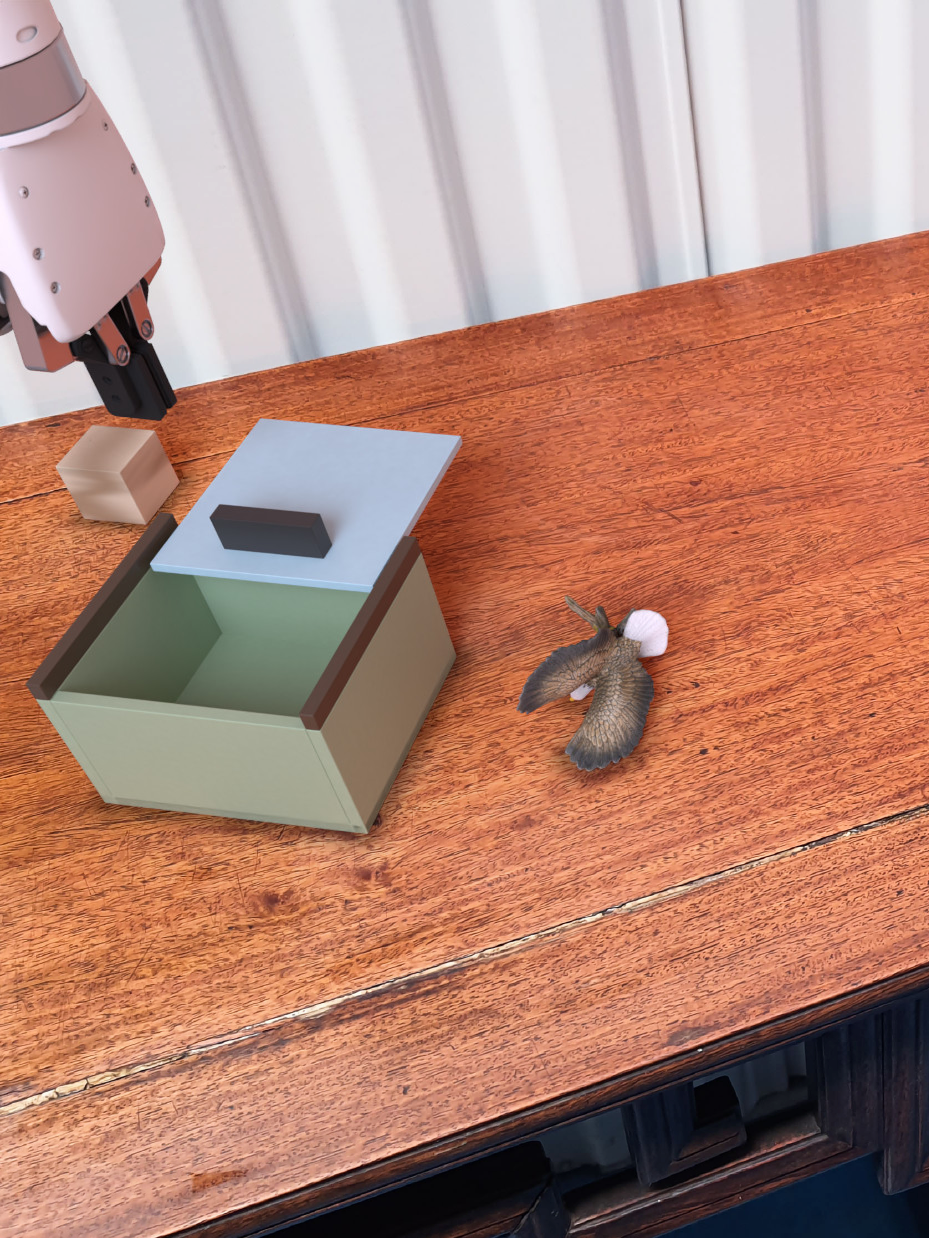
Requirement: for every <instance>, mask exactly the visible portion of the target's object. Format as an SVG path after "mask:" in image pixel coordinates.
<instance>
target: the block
mask: <svg viewBox="0 0 929 1238" xmlns="http://www.w3.org/2000/svg"><path fill="white" fill-rule="evenodd" d="M54 468H55V469H56V471H57V473H58V475H59V476H60V478H61V480H62V482H63V484H64V486H65V487H66V489H67V491H68V492H69V494H70V496H71V498H72V500H73V501H74V503H75V505H76V507H77V509H78V511H79V513H80V515H81V516H82V517H83V519H84V520H92V521H104V522H113V523H124V524H132V525H133V524H134V525H144V526H146V525H148V524H149V522H150V521H151V520H152V518H153V517H154V516H155V515H156V514H157V512H158V511H159V510H160V508H161V507H162V506H163V505H164V503H165V502H166V501H167V500H168V498H169V497H170V495H171V494H172V493H173V492H174V491H175V489H176V488H177V487H178V485H179V484H180V482H181V481H180V480H179V478H178V475H177V473H176V472H175V469H174V467H173V465H172V463H171V462H170V459H169V457H168V455H167V452H166V450H165V448H164V447H163V444H162V442H161V440H160V438H159V436H158V434H157V432H156V431H155V430H153V429H141V428H132V427H131V428H129V427H120V426H110V425H109V426H108V425H97V424H92V425H90V427H89V428H88V429H87V431H85V433H83V435H82V436H81V437H80V438H79V439H78V440H77V442H76V443H75V444H74V445H73V446H72V447H71V448H70V449H69V450H68V452H67V453H66V454H65V455H64V456H63V457H62V459H60V460H59V462H58V463H57V464H56V465H55V467H54Z"/></svg>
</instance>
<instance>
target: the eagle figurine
mask: <svg viewBox="0 0 929 1238" xmlns="http://www.w3.org/2000/svg"><path fill="white" fill-rule="evenodd" d="M564 600H565V603H566V605H567V606H568V608H569V609H570V610H571V611H572V612H574V613H576V615H577V616H579V618H581V619H582V620H583V621H585V622H587V623H588V624H590V627H591V629H592V630H593V631H595V634H594V636H592V637H589V638H588V639H581V640H580V641H578V642H576V643H575V644H573V643H571V644H568V646H559V647H557V648H556V649H555V650H552V651H551V652H550V655H549V656H546V657H545V660H543V661H541V662H540V663H539V665H538V667H536V668H535V669H534V670H533V672H532V673H531V674H530V675H529V676H528V677H527V678H526V682H525V683H524V685H523V686H522V691H521V693H520V694H519V696H518V703H517V706H516V709H515V710H516V711H517V712H519V713H520V714H524V713H525V714H526V715H529V714H531V713H533V712H535V711H536V710H538V709H539V708H542V707H543V706H546V705H548V704H550V703H552V702H556V701H558V700H560V699H563V698H566V697H567V696H569V695H570V697H569V702H574V701H582V700H583V699H585V698H586V696H588V695H589V694H590V693H591V692H592V691H593V690H594V693H593V695H592V701H591V703H590V705H589V707H588V710H587V712H586V714H585V715H584V718H583V721H582V722H581V724H580V726H579V727H578V729H577V731H575V733H574V734H573V737H572V738H571V739H570V740H569V742H568V743H567V746H566V747H565V749H564V753H565V754H566V755H568V756H569V762H571V763H575V764H576V768H577V769H578V770H580V771H582V770H585V771H586V772H589V773H590V772H593V771H594V770H595V769H597V768H598V769H599V770H603V769H605V768H606V767H609V765H610V764H611V762H612V763H613V764H617V763H620V760H621V759H622V758H623V759H625V758H627V757H629V756H630V755H631V753H632V752H633V751H634V750H635V748H636V747H637V746H639V744H640V739H641V738H642V737H644V731H643V729H644V728H645V725H646V723H647V717H646V716H648V715H649V710H650V708H651V703H653V702H654V698H655V693H656V689H655V681H654V680H653V677H652V675H651V674H649V673H648V671H647V669H646V667H643V662H642V661H640V660H639V659H641V658H649V657H658V656H661V655H664V653H665V652H666V650H667V647H668V642H669V634H670V629H669V626H668V625H667V624H668V623H667V620H666V618H665V617H664V616H662V615H661V613H659V612H657V611H653V610H651V609H637V610H636V608H635V607H632V608H630V610H629V611H628V613H627V614H626V615H625V616H624V617H623V618H622V620H620V622H619V623H617V624H616V626H613V625H611V624H610V621H609V618H608V615H607V613H606V609H605V608H604V606H603V605H600V604H598V605H597V606H595V608H594V609H595V613H592V612H590V611H589V610H587V609H586V608H584V607H583V606H581V605H580V604H579V603H578V602H577V601H576V600H575V598H573V597H572V596H570V595H565V596H564Z"/></svg>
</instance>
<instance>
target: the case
mask: <svg viewBox="0 0 929 1238" xmlns="http://www.w3.org/2000/svg"><path fill="white" fill-rule="evenodd" d="M178 526H179V524H178V522H177V520H176V518H175V516H174V514H173V513H172V512H163V511H160V512H159V513H158V514H157V515H156V517H155V518H154V519H153V520H152V521H151V523H150V524H149V525H148V527H147V528H146V529H145V530H144V532H143V533H142V534H141V535H140V537H139V538H138V539H137V541H136V542H135V543H134V545H133V546H132V547H131V549H130V550H129V551H128V553H127V554H126V555H125V556H124V557H123V558H122V560H121V561H120V563H119V564H118V565H117V566H116V567H115V569H114V570H113V571H112V573H111V574H110V575H109V577H108V578H107V579H106V580H105V581H104V583H103V584H102V585H101V586H100V588H99V589H98V591H97V592H96V593H95V594H94V596H93V597H92V598H91V599H90V601H89V602H88V603H87V604H86V606H85V607H84V608H83V610H82V611H81V612H80V613H79V614H78V616H77V617H76V619H75V620H74V621H73V622H72V624H71V625H70V626H69V628H68V629H67V630H66V631H65V633H64V634H63V635H62V637H60V639H59V641H58V642H56V644H55V645H54V646H53V648H52V649H51V650H50V652H49V653H48V654H47V655H46V657H45V658H44V659H43V660H42V662H41V663H40V665H39V666H37V668H36V670H35V671H34V672H33V674H32V675H31V676H30V677H29V679H28V680H27V681H26V682H25V686H26V688H27V689H28V691H29V692H30V694H31V695H32V697H33V698H34V699H35V700H36V702H37V704H38V705H39V707H40V708H41V710H42V711H43V713H44V714H45V716H46V717H47V718H48V720H49V721H50V723H51V724H52V726H53V727H54V729H55V731H56V732H57V733H58V735H59V736H60V738H61V739H62V741H63V742H64V744H65V745H66V747H67V748H68V750H69V751H70V752H71V754H72V756H73V758H75V760H76V762H77V763H78V764H79V766H80V767H81V769H82V771H83V772H84V773H85V775H86V776H87V778H88V779H89V781H90V782H91V784H92V785H93V787H94V788H95V790H96V792H97V793H98V794H99V796H100V798H101V799H102V800H103V802H104V803H106V804H113V805H121V806H130V807H139V808H147V809H155V810H162V811H163V810H164V811H171V812H179V813H187V814H196V815H197V814H198V815H205V816H213V817H222V818H229V819H239V820H245V821H246V820H247V821H255V822H264V823H273V824H281V825H289V826H297V827H306V828H314V829H323V830H331V831H340V832H346V833H347V832H348V833H355V834H356V833H357V834H363V835H364V834H365V835H368V834H369V833H370V831H371V829H372V827H373V825H374V823H375V821H376V818H377V817H378V814H379V813H380V811H381V809H382V807H383V805H384V803H385V801H386V799H387V797H388V795H389V793H390V791H391V789H392V787H393V785H394V783H395V781H396V779H397V777H398V775H399V773H400V771H401V769H402V767H403V765H404V763H405V761H406V759H407V757H408V755H409V754H410V751H411V749H412V747H413V745H414V743H415V741H416V739H417V737H418V735H419V733H420V731H421V729H422V727H423V725H424V724H425V721H426V719H427V717H428V715H429V713H430V711H431V710H432V707H433V705H434V703H435V701H436V699H437V697H438V695H439V694H440V691H441V690H442V687H443V685H444V684H445V681H446V679H447V677H448V676H449V674H450V671H451V670H452V668H453V665H454V664H455V662H456V660H457V653H456V650H455V647H454V645H453V644H454V643H453V642H452V639H451V636H450V635H451V634H450V633H449V630H448V627H447V624H446V621H445V618H444V615H443V612H442V609H441V606H440V603H439V599H438V597H437V594H436V591H435V589H434V585H433V582H432V579H431V577H430V573H429V570H428V568H427V565H426V561H425V559H424V556H423V553H422V550H421V547H420V544H419V541H418V538H417V536H412V535H411V536H410V535H409V536H403V538H402V539H401V541H400V543H399V544H398V546H397V548H396V550H395V551H394V553H393V555H392V556H391V558H390V560H389V561H388V563H387V565H386V567H385V568H384V570H383V572H382V573H381V575H380V577H379V578H378V580H377V582H376V584H375V585H374V587H373V589H372V590H371V592H370V593H366V592H356V591H346V590H337V589H327V588H317V587H307V586H297V585H287V584H277V583H267V582H257V581H247V580H237V579H227V578H217V577H208V576H198V575H188V574H178V573H168V572H158V571H153V569H152V567H151V565H150V563H151V561H152V560H153V559H154V557H155V556H156V555H157V553H158V552H159V551H160V550H161V548H162V547H163V546H164V544H165V543H166V542H167V540H168V539H169V538H170V536H171V535H172V534H173V532H174V531H175V530H176V529H177V527H178Z"/></svg>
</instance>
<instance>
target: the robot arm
mask: <svg viewBox="0 0 929 1238" xmlns="http://www.w3.org/2000/svg"><path fill="white" fill-rule="evenodd" d="M165 246H166V238H165V233H164V229H163V226H162V222H161V220H160V217H159V214H158V211H157V209H156V206H155V204H154V201H153V199H152V197H151V195H150V192H149V190H148V187H147V185H146V183H145V181H144V178H143V176H142V174H141V172H140V170H139V168H138V166H137V164H136V162H135V159H134V158H133V155H132V153H131V152H130V150H129V148H128V146H127V144H126V142H125V141H124V139H123V137H122V135H121V133H120V131H119V129H118V128H117V126H116V125H115V122H114V121H113V118H111V116H110V114H109V113H108V111H107V109H106V108H105V106H104V104H103V102H102V101H101V99H100V98H99V96H98V95H97V93H96V92H95V90H94V89H93V88H92V86H91V85H90V83H89V82H88V80H87V79H85V78H84V76H83V75H82V72H81V70H80V67H79V65H78V62H77V61H76V58H75V56H74V54H73V51H72V49H71V47H70V43H69V41H68V39H67V37H66V34H65V31H64V27H63V26H62V23H61V22H60V21H59V19H58V16H57V14H56V12H55V10H54V7H53V5H52V2H51V0H0V337H3V336H5V335H7V334H9V333H11V332H12V331H13V333H14V337H15V340H16V344H17V347H18V350H19V354H20V357H21V359H22V364H23V365H24V367H25V369H26V370H28V371H32V372H33V371H34V372H42V373H51V374H52V373H57V372H58V371H61V370H62V369H64V368H66V367H68V366H70V365H71V364H73V363H75V362H79V363H83V365H84V367H85V369H86V371H87V373H88V374H89V377H90V378H91V380H92V383H93V385H94V387H95V389H96V391H97V392H98V395H99V397H100V399H101V401H102V402H103V404H104V406H105V409H106V411H107V412H108V414H110V415H111V416H114V417H117V418H125V419H126V418H127V419H137V420H147V421H157V422H160V421H162V420H163V419H164V418H165V417H166V416H167V414H168V410H171V409H172V408H174V406H175V405H176V404H177V403H178V398H177V396H176V394H175V391H174V389H173V387H172V385H171V383H170V380H169V378H168V376H167V374H166V371H165V369H164V367H163V365H162V363H161V360H160V358H159V356H158V353H157V352H156V350H155V348H154V346H153V343H152V342H149V341H150V340H151V339H152V338H153V336H154V333H155V325H154V320H153V319H152V316H151V312H150V310H149V306H148V301H149V291H150V290H149V286H150V285H151V284H152V281H153V280H154V278H155V276H156V275H157V273H158V271H159V269H160V268H161V266H162V261H163V259H162V258H163V257H162V254H163V253H164V250H165ZM87 332H89V333H87Z"/></svg>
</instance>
